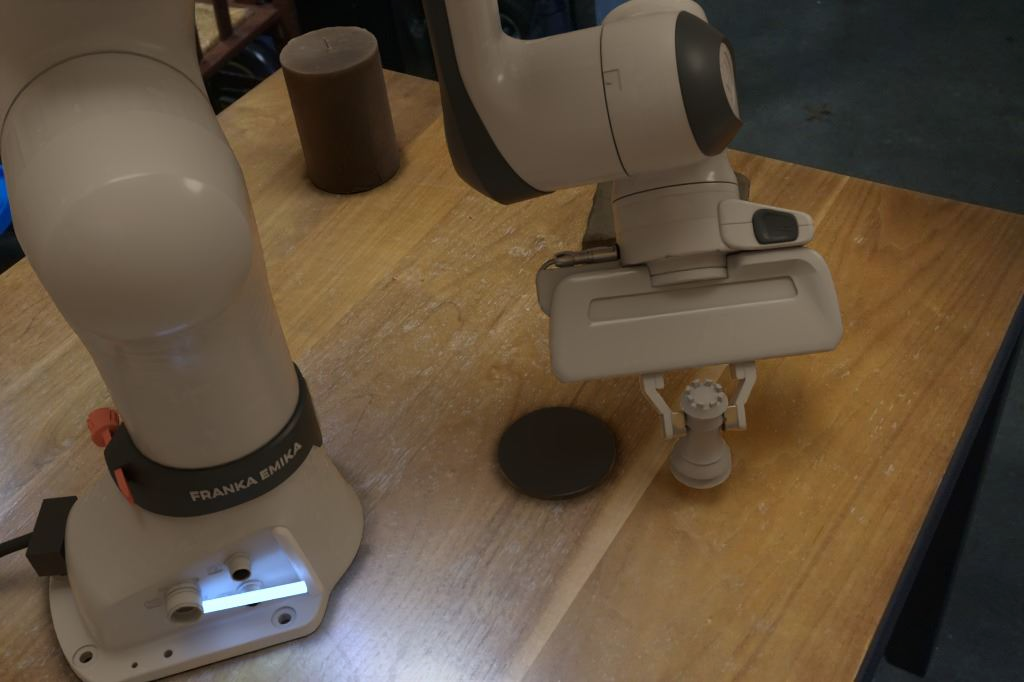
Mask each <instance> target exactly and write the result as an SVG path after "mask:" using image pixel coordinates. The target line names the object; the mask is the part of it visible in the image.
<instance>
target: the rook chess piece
mask: <svg viewBox="0 0 1024 682" xmlns="http://www.w3.org/2000/svg"><path fill="white" fill-rule="evenodd" d="M679 404H680V408H681V409H682V410H683V412H684V415H685V423H684V426H685V427H686V431H687V436H686V437H682V438H677V439H676V441H675V442H674V443H673V445H672V448H671V452H670V458H669V461H668V463H669V468H670V470H669V471H670V472H671V474H672V475H673V476H674V477H675V479H676V480H677V481H679V482H680V483H682V484H684V485H685V486H687V487H688V488H693V489H698V490H703V489H704V490H705V489H706V490H707V489H711V488H713V487H717V486H718V485H721V484H723V482H725V481H726V480H727V478H728V477H730V474H731V471H732V467H733V465H732V460H733V459H732V454H731V450H730V446H729V445H728V444H727V442H726V440H724V438H723V436H722V430H721V426H720V425H721V424H722V422H723V419H724V417H723V414H722V413H723V412H724V411H726V409H727V406H728V405H729V400H728V396H727V395H726V393H725V392H724V391H723V387H722V385H721V384H720V382H717V383H716V384H713V379H711V378H706V377H705V378H704V382H701V383H700V380H699V378H697V379H694V380H692V381H691V385H686V388H685V390H684V391H682V392H681V395H680V398H679Z"/></svg>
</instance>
